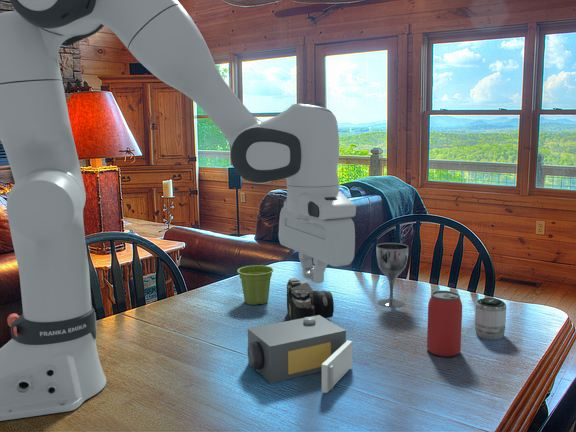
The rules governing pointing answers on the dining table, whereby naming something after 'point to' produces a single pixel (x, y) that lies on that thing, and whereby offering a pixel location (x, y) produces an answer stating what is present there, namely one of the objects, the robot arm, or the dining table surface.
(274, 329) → the block
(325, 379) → the side door
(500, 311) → the camera lens
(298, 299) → the camera
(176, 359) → the dining table surface
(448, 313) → the beer can
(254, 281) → the plant pot
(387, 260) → the wine glass
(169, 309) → the dining table surface
